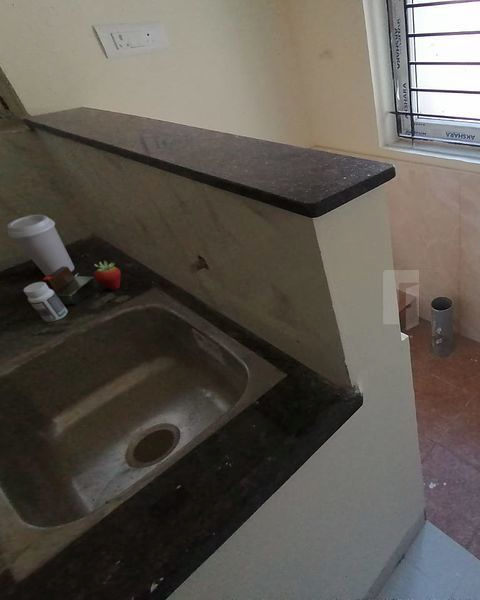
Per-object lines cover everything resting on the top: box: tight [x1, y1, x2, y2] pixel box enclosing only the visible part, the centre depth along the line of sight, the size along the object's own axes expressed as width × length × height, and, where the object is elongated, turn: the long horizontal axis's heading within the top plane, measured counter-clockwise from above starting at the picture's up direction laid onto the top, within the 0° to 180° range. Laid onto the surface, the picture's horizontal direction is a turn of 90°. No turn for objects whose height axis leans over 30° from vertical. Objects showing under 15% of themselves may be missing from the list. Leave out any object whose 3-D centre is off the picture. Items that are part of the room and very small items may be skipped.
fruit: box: [93, 259, 122, 291], centre depth 96 cm, size 5×5×8 cm
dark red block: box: [42, 267, 75, 292], centre depth 94 cm, size 6×2×4 cm, turn 175°
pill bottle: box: [23, 281, 69, 323], centre depth 88 cm, size 5×5×8 cm
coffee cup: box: [7, 214, 75, 277], centre depth 101 cm, size 10×10×15 cm
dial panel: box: [55, 272, 100, 306], centre depth 96 cm, size 10×10×3 cm
